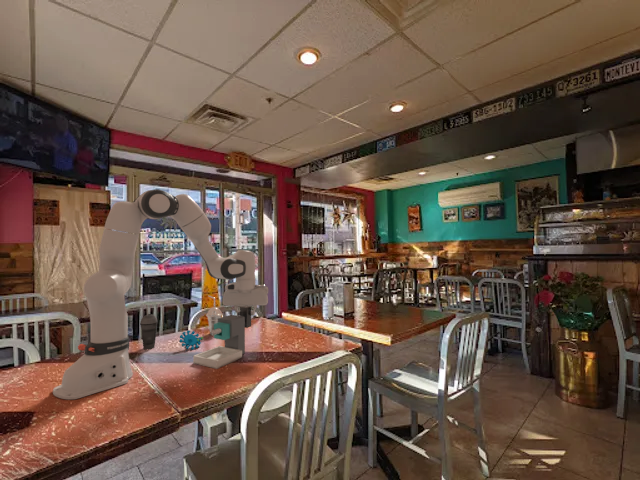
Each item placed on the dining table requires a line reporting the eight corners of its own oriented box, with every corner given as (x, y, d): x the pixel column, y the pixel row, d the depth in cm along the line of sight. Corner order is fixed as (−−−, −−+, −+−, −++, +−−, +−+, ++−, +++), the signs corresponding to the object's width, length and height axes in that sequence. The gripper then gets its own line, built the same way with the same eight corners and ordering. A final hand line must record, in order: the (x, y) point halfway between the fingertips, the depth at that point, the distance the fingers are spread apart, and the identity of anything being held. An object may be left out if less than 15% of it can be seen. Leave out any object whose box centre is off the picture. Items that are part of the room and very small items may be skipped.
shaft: (215, 338, 126) (215, 316, 126) (208, 337, 128) (208, 315, 128) (251, 326, 145) (251, 306, 145) (244, 325, 146) (244, 305, 147)
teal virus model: (182, 349, 139) (178, 330, 144) (177, 356, 141) (173, 337, 147) (206, 346, 146) (201, 328, 152) (201, 354, 149) (196, 335, 155)
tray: (216, 369, 120) (216, 361, 120) (193, 363, 126) (193, 355, 126) (242, 357, 132) (242, 350, 133) (219, 352, 139) (219, 345, 139)
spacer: (224, 340, 129) (224, 325, 129) (213, 338, 131) (213, 323, 131) (229, 338, 131) (229, 323, 131) (219, 336, 134) (219, 322, 134)
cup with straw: (207, 336, 164) (207, 297, 165) (204, 332, 172) (204, 295, 173) (223, 333, 168) (223, 296, 169) (220, 330, 176) (220, 294, 177)
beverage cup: (150, 350, 142) (150, 306, 142) (136, 350, 143) (136, 306, 143) (161, 345, 149) (161, 303, 149) (147, 345, 150) (147, 303, 150)
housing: (231, 359, 131) (231, 320, 131) (217, 356, 134) (217, 318, 135) (244, 353, 138) (244, 316, 138) (231, 350, 141) (231, 314, 142)
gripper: (269, 284, 148) (269, 313, 148) (225, 284, 147) (225, 314, 147) (267, 285, 142) (267, 316, 142) (221, 286, 141) (221, 317, 141)
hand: (245, 315), depth 144 cm, fingers open, 5 cm apart
